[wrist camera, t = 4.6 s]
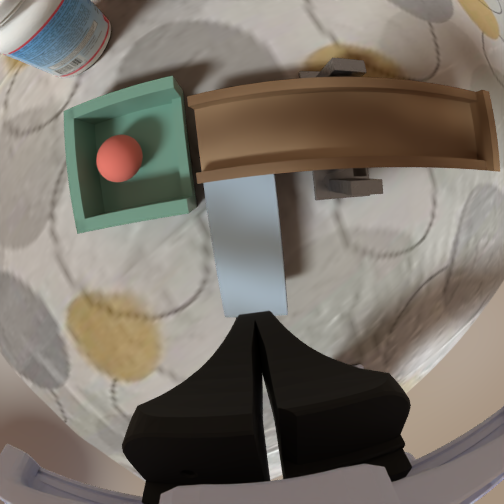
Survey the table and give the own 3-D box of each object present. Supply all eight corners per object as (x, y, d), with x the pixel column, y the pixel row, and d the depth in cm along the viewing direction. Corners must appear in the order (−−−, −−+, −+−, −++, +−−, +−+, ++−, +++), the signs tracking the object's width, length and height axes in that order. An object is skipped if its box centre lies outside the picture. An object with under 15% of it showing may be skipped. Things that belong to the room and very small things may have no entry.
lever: (466, 284, 16) (488, 302, 13) (229, 307, 19) (218, 332, 16) (462, 93, 12) (487, 84, 9) (200, 98, 15) (181, 84, 12)
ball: (103, 184, 13) (96, 188, 15) (151, 174, 15) (138, 179, 17) (97, 132, 12) (91, 144, 15) (146, 126, 14) (133, 138, 16)
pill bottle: (125, 15, 13) (62, -63, 2) (95, 79, 15) (-3, 26, 4) (69, 20, 12) (-2, -31, 2) (42, 80, 14) (-50, 51, 3)
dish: (197, 206, 18) (188, 213, 15) (99, 224, 18) (77, 233, 14) (183, 91, 15) (172, 75, 12) (87, 118, 15) (63, 111, 12)
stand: (368, 195, 18) (397, 201, 14) (315, 199, 18) (335, 206, 14) (351, 74, 16) (376, 55, 12) (298, 72, 15) (313, 49, 12)
